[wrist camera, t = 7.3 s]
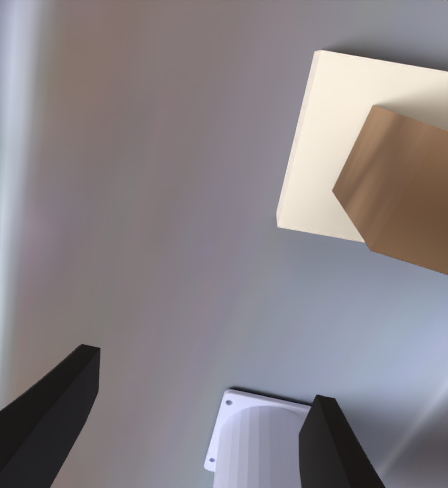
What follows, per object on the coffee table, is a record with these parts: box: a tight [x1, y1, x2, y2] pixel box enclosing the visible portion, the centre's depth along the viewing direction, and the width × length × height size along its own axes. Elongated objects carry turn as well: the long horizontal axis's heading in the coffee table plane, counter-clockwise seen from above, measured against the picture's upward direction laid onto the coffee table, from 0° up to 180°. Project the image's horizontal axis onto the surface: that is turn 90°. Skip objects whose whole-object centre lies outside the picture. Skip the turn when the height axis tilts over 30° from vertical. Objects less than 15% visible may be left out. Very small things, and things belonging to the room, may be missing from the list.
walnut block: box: [332, 105, 448, 275], centre depth 13 cm, size 4×4×6 cm
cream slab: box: [276, 50, 448, 243], centre depth 17 cm, size 8×8×2 cm
